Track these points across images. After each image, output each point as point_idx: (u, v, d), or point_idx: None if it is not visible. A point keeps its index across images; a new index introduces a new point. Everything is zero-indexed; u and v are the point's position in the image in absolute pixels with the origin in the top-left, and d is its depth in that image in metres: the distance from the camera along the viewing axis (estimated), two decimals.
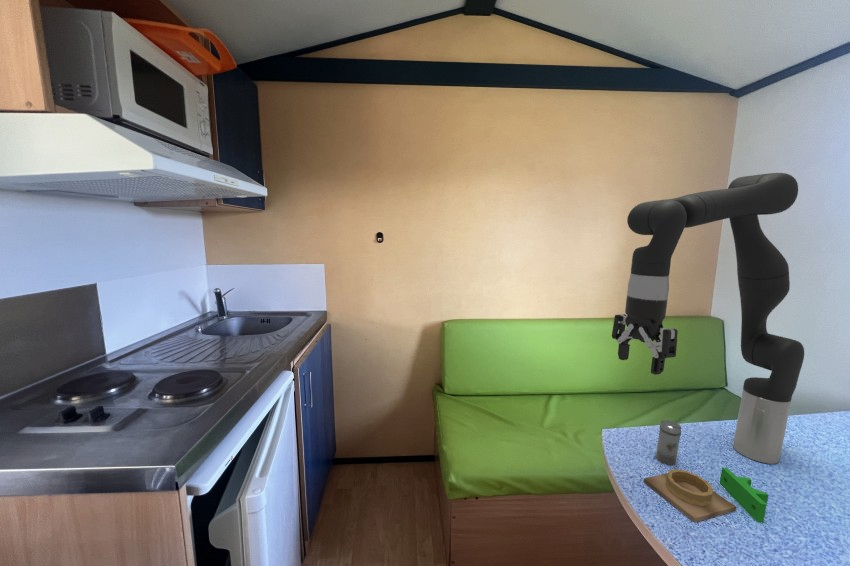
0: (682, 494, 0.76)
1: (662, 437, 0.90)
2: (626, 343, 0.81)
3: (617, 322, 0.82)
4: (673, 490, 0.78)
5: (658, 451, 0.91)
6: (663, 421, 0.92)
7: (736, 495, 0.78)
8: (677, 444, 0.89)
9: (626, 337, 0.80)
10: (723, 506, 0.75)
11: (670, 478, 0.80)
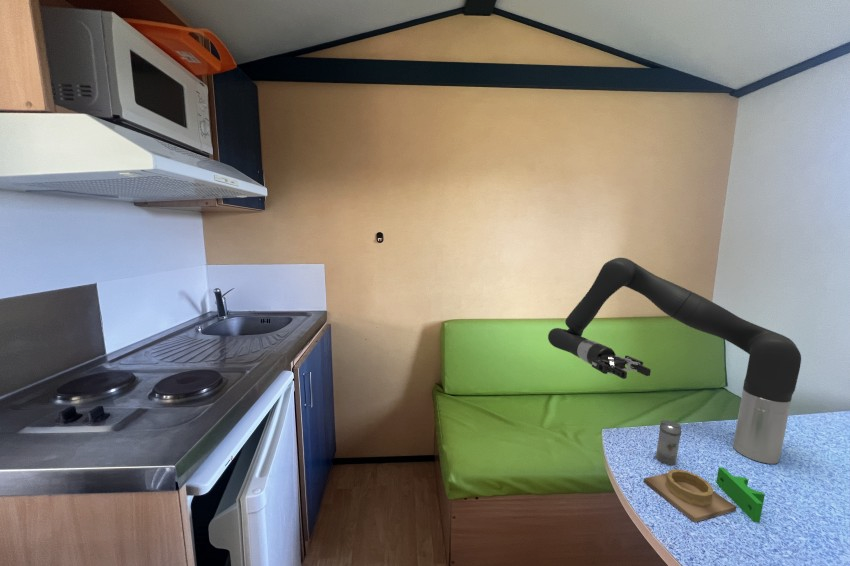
0: (682, 494, 0.76)
1: (662, 437, 0.90)
2: (637, 366, 1.04)
3: (628, 364, 1.09)
4: (673, 490, 0.78)
5: (658, 451, 0.91)
6: (663, 421, 0.92)
7: (733, 495, 0.78)
8: (677, 444, 0.89)
9: (628, 369, 1.06)
10: (723, 506, 0.75)
11: (670, 478, 0.80)
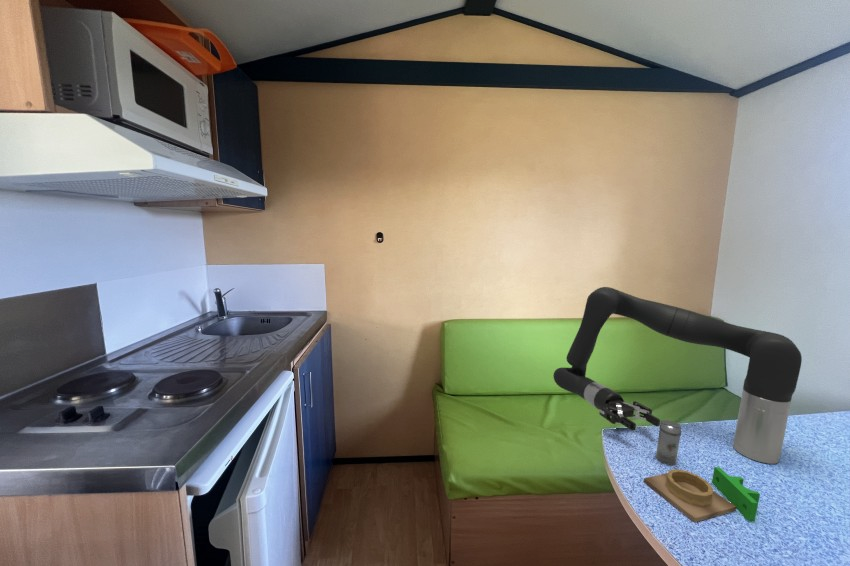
0: (682, 494, 0.76)
1: (662, 437, 0.90)
2: (646, 415, 1.02)
3: None
4: (673, 490, 0.78)
5: (658, 451, 0.91)
6: (663, 421, 0.91)
7: (728, 494, 0.78)
8: (677, 444, 0.89)
9: (636, 417, 1.03)
10: (723, 506, 0.75)
11: (670, 478, 0.80)
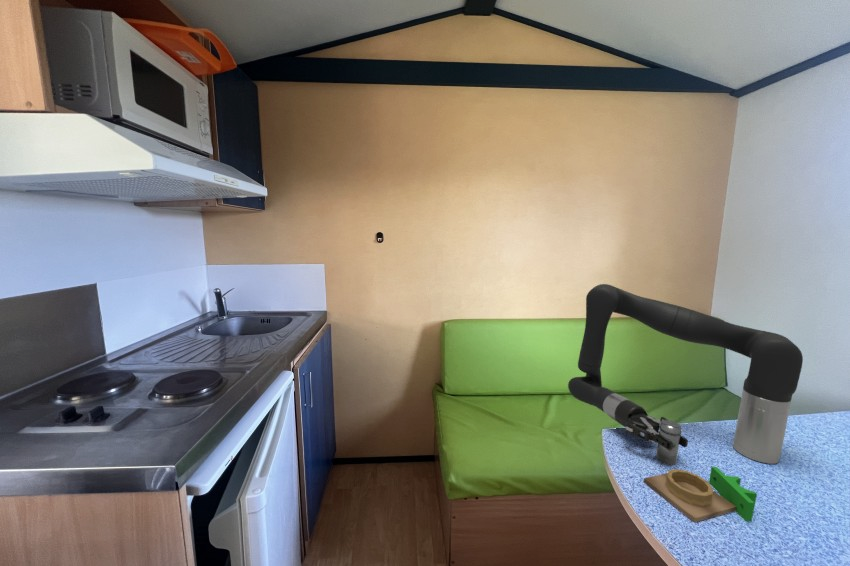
0: (682, 494, 0.76)
1: None
2: None
3: None
4: (673, 490, 0.78)
5: (658, 451, 0.91)
6: (663, 421, 0.91)
7: (725, 494, 0.78)
8: (677, 444, 0.89)
9: None
10: (723, 506, 0.75)
11: (670, 478, 0.80)
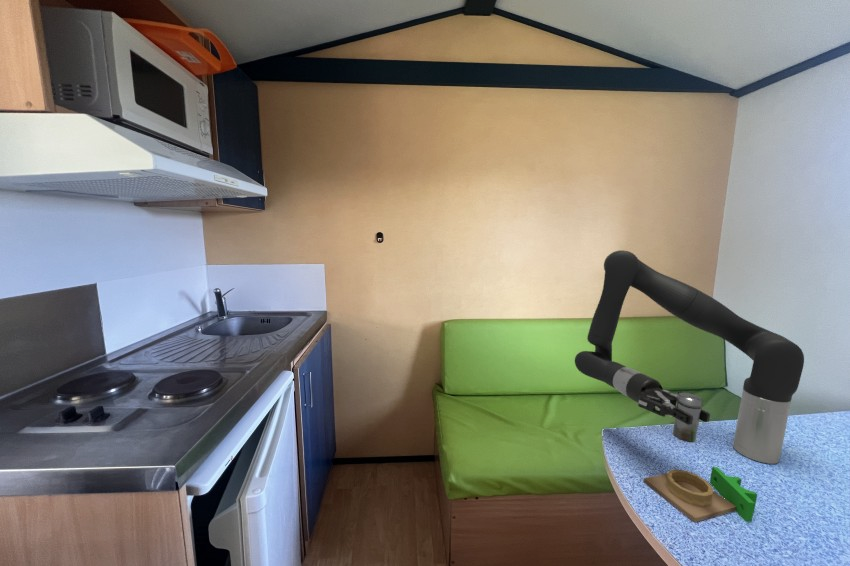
0: (682, 494, 0.76)
1: None
2: None
3: None
4: (673, 490, 0.78)
5: (675, 427, 0.81)
6: (681, 393, 0.82)
7: (725, 494, 0.78)
8: (697, 418, 0.79)
9: None
10: (723, 506, 0.75)
11: (670, 478, 0.80)
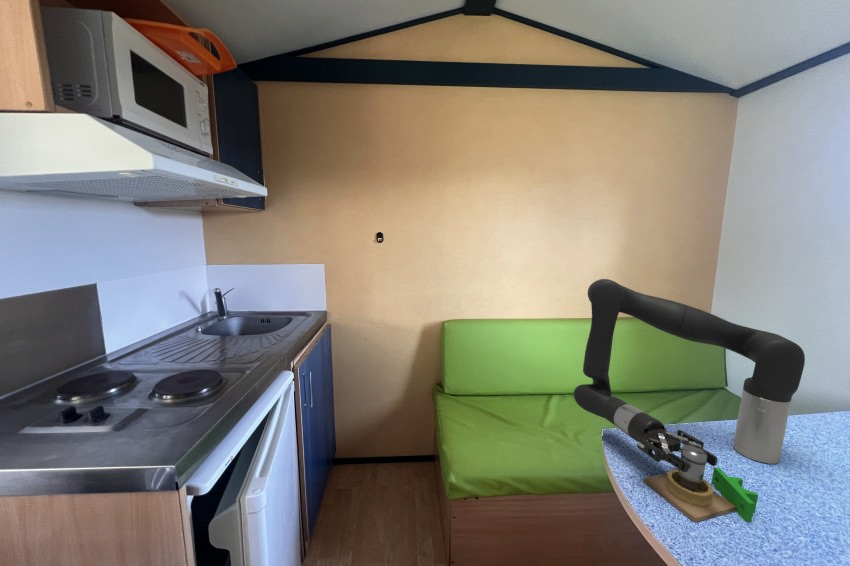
0: (682, 494, 0.76)
1: None
2: None
3: (682, 442, 0.86)
4: (673, 490, 0.78)
5: (679, 481, 0.79)
6: (685, 446, 0.79)
7: (726, 494, 0.78)
8: (702, 474, 0.76)
9: None
10: (723, 506, 0.75)
11: (670, 478, 0.80)
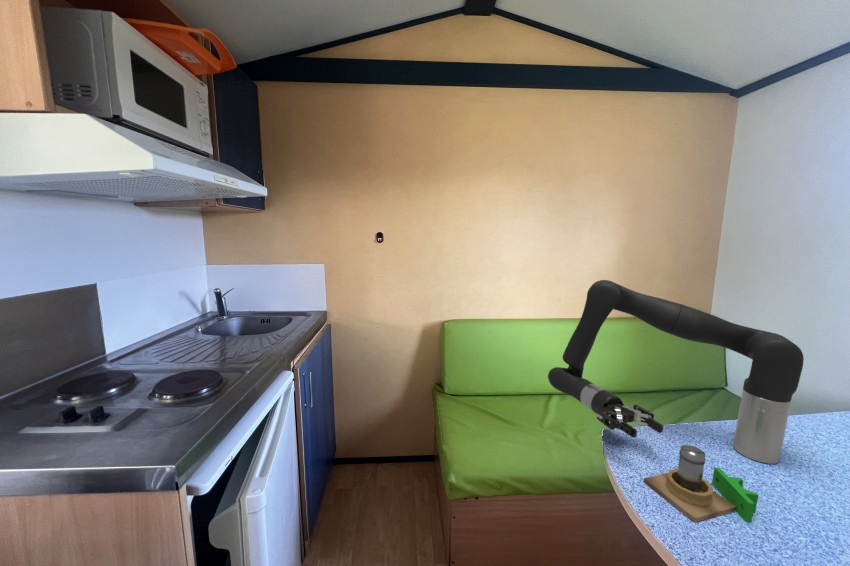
0: (682, 494, 0.76)
1: (683, 465, 0.77)
2: (647, 420, 0.93)
3: None
4: (673, 490, 0.78)
5: (678, 481, 0.79)
6: (684, 446, 0.79)
7: (727, 495, 0.78)
8: (701, 474, 0.76)
9: (637, 422, 0.95)
10: (723, 506, 0.75)
11: (670, 478, 0.80)
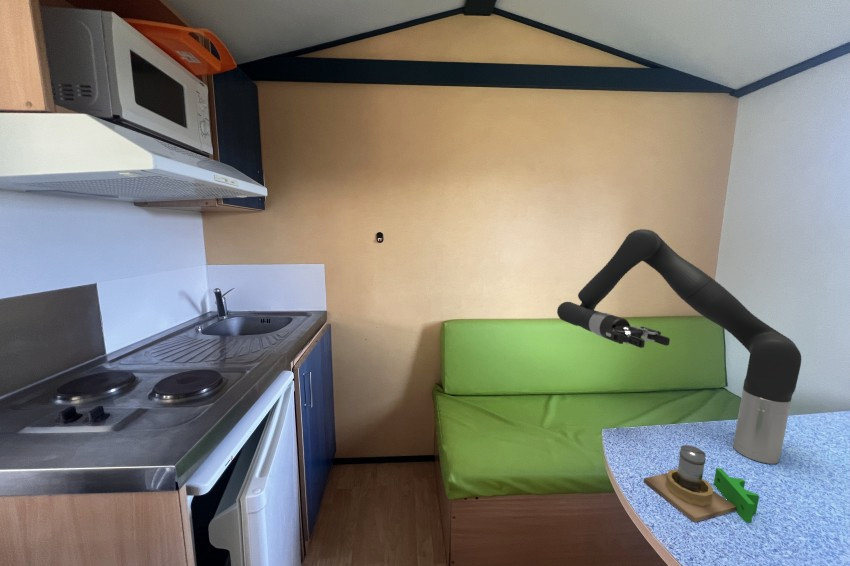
0: (682, 494, 0.76)
1: (683, 465, 0.77)
2: (654, 336, 0.97)
3: None
4: (673, 490, 0.78)
5: (678, 481, 0.79)
6: (684, 446, 0.79)
7: (727, 495, 0.78)
8: (701, 474, 0.76)
9: (644, 340, 0.99)
10: (723, 506, 0.75)
11: (670, 478, 0.80)
